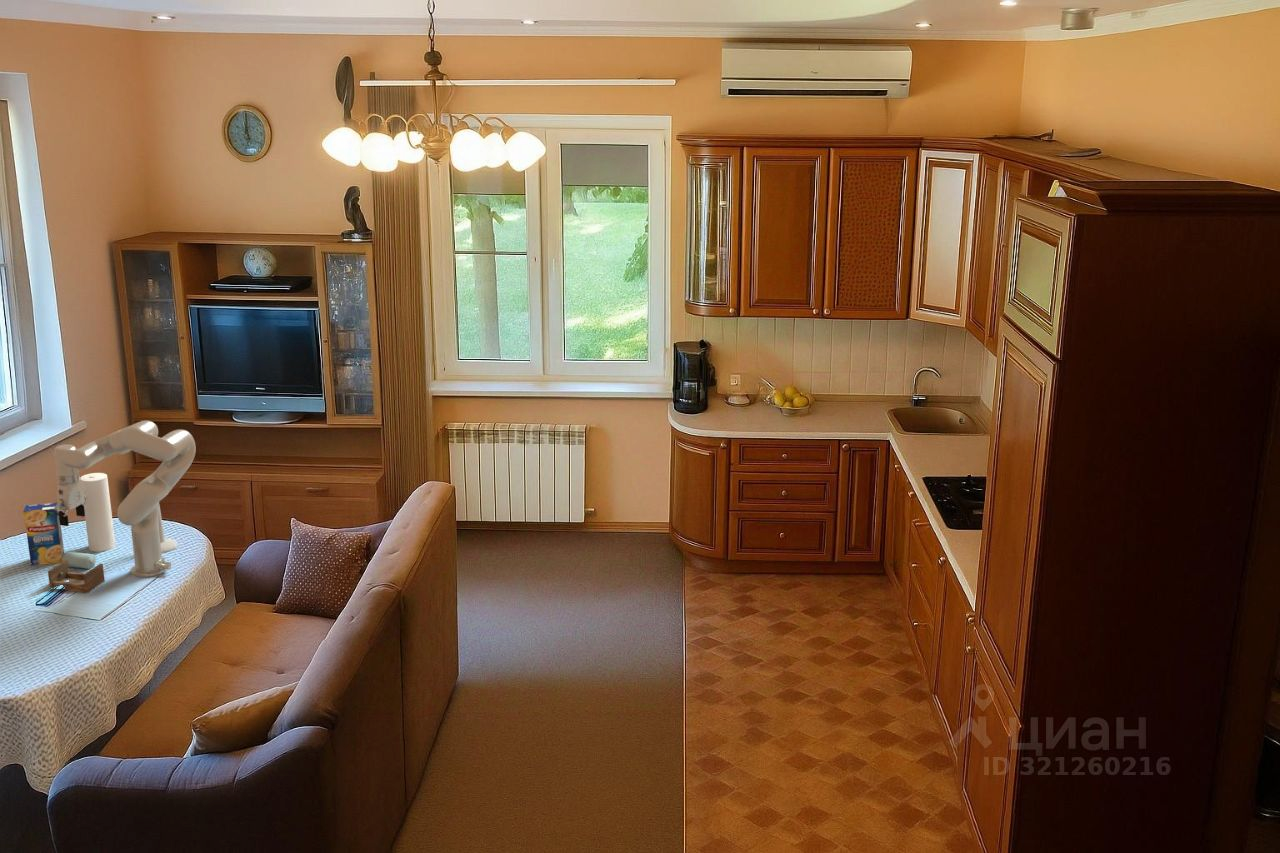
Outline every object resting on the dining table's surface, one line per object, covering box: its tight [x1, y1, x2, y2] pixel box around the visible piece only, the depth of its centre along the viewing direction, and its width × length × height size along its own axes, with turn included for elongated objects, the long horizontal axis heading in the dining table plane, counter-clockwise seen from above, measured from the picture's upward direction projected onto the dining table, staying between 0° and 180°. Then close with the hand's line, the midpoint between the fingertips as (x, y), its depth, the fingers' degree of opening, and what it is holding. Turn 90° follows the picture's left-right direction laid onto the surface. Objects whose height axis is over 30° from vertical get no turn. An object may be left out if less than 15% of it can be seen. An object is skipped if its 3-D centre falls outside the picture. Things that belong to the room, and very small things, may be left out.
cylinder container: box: [80, 472, 116, 553], centre depth 437 cm, size 9×9×30 cm
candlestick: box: [158, 505, 179, 554], centre depth 439 cm, size 13×13×30 cm
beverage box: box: [23, 502, 65, 566], centre depth 425 cm, size 7×11×22 cm, turn 111°
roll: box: [62, 551, 97, 570], centre depth 423 cm, size 10×6×6 cm, turn 81°
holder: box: [47, 560, 106, 594], centre depth 408 cm, size 15×10×7 cm, turn 81°
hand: (72, 520), depth 418 cm, fingers open, 9 cm apart
